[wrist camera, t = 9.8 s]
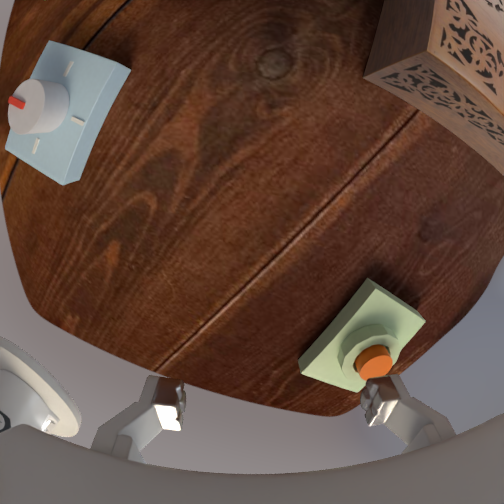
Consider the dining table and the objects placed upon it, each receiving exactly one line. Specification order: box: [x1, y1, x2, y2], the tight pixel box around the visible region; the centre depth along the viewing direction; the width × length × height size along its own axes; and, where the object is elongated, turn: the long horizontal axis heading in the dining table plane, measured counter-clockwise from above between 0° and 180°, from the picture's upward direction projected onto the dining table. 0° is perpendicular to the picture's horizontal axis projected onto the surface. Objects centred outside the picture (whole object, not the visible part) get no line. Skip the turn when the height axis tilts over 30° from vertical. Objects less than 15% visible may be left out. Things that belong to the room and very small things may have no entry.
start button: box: [355, 344, 393, 381], centre depth 25 cm, size 4×4×2 cm
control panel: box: [5, 41, 131, 185], centre depth 18 cm, size 11×9×3 cm
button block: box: [298, 278, 426, 392], centre depth 28 cm, size 12×9×4 cm
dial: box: [8, 79, 69, 135], centre depth 15 cm, size 4×4×4 cm
